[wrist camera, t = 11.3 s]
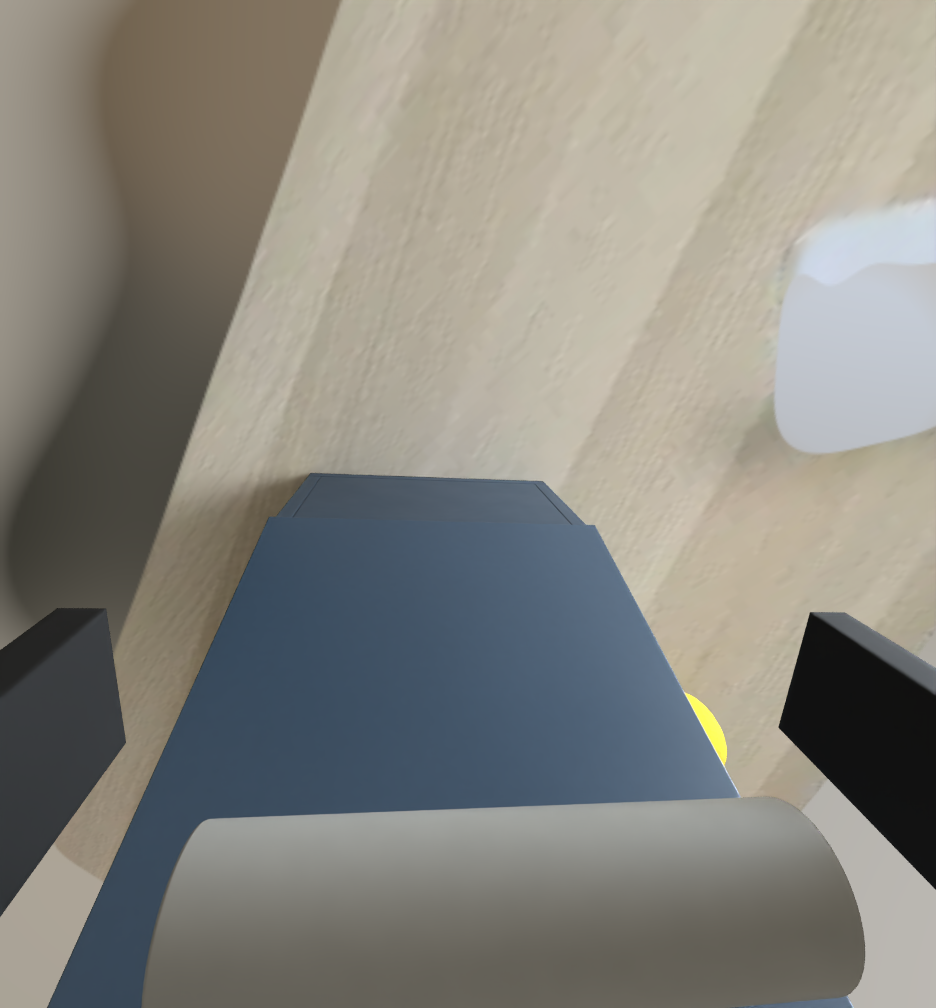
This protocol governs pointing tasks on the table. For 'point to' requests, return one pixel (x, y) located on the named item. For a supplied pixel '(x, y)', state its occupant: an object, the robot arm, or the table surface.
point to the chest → (427, 500)
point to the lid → (454, 801)
